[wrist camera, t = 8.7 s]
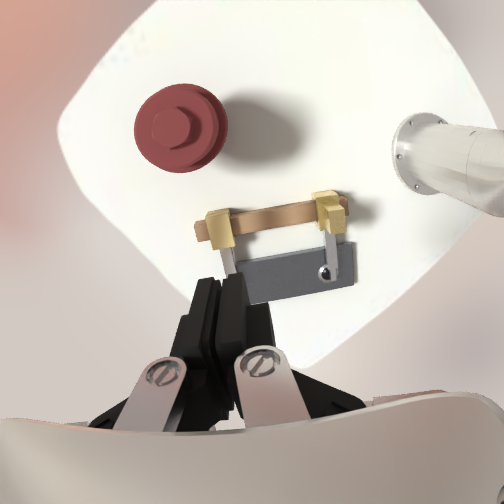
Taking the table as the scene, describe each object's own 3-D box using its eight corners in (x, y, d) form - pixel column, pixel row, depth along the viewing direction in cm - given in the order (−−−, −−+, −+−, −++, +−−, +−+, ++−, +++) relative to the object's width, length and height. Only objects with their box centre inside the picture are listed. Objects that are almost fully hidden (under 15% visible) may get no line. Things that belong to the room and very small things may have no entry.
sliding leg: (332, 189, 41) (347, 201, 34) (339, 272, 46) (353, 295, 39) (311, 192, 41) (323, 205, 34) (320, 276, 46) (332, 300, 39)
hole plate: (350, 241, 44) (352, 244, 43) (351, 282, 47) (354, 285, 46) (220, 264, 45) (219, 268, 44) (230, 304, 48) (230, 308, 47)
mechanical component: (223, 169, 40) (152, 159, 39) (237, 97, 36) (163, 88, 35) (214, 186, 28) (116, 173, 27) (233, 83, 24) (131, 74, 24)
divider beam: (342, 187, 41) (349, 192, 38) (348, 270, 46) (354, 279, 43) (194, 214, 42) (190, 220, 39) (215, 293, 47) (213, 304, 44)
